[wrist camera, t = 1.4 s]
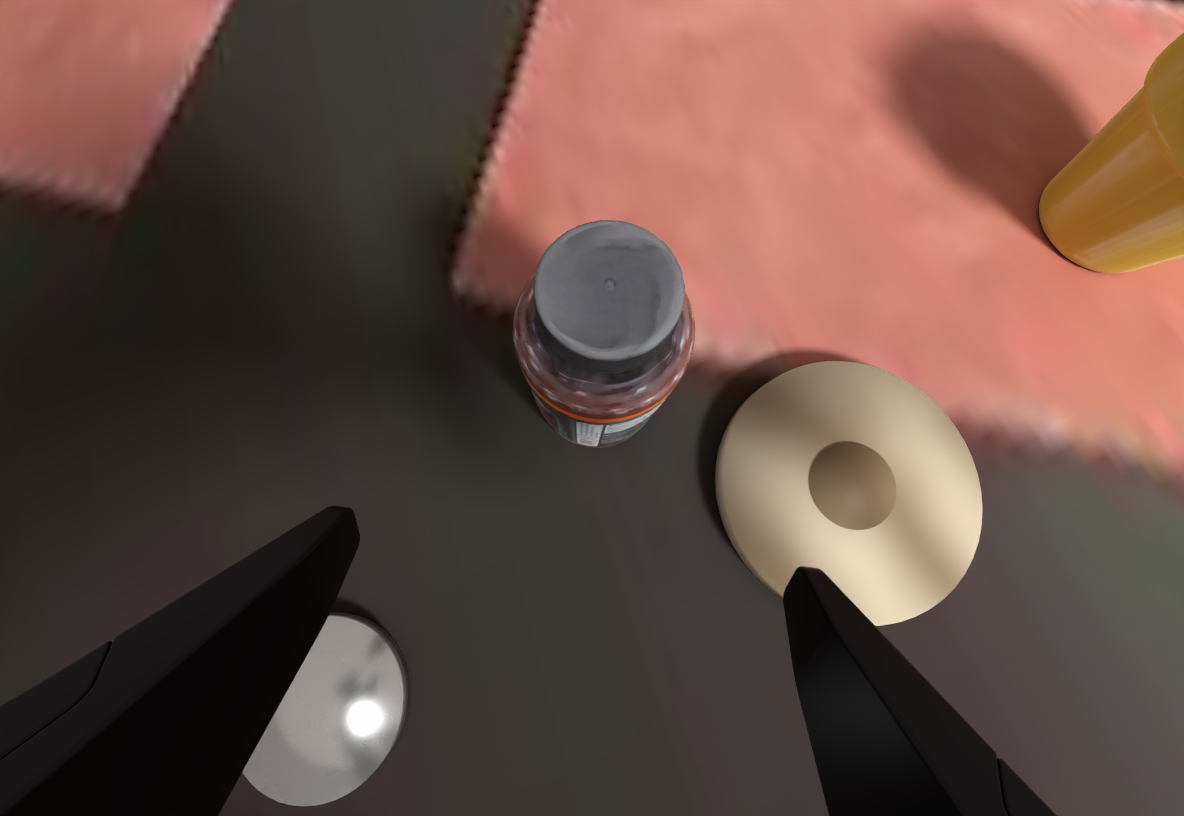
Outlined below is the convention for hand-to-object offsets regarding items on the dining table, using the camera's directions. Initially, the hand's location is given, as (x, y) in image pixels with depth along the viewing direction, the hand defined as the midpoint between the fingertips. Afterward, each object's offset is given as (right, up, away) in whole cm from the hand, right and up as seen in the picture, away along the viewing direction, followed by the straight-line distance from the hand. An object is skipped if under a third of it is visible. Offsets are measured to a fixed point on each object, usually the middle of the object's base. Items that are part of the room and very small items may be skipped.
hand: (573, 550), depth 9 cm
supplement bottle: (+1, +4, +14) cm, 14 cm away
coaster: (+12, -1, +13) cm, 18 cm away
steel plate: (-11, -10, +10) cm, 18 cm away
